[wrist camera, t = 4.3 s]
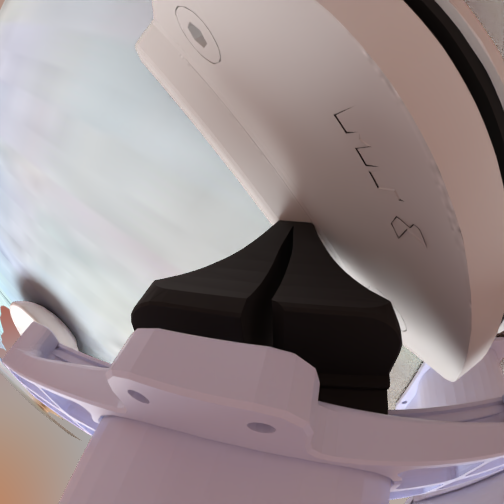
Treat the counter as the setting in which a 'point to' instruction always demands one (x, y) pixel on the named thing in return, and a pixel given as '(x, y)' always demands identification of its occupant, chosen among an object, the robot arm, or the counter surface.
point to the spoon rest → (41, 321)
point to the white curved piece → (361, 143)
